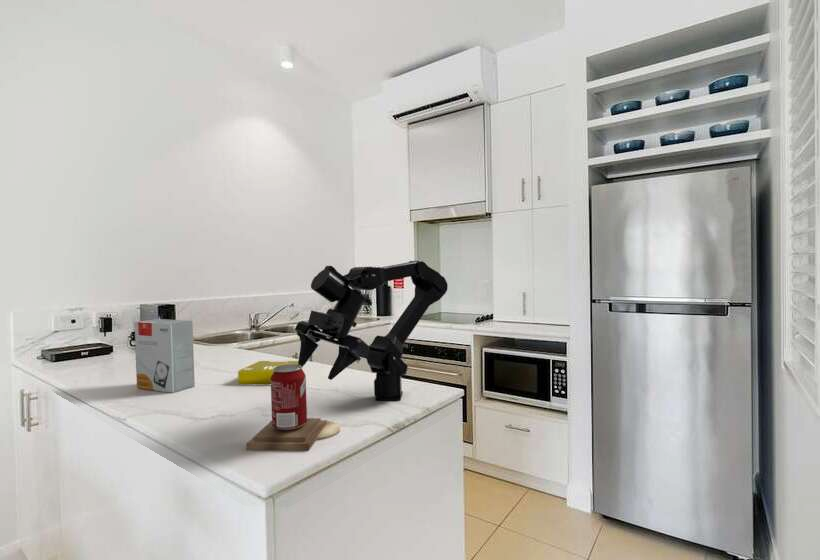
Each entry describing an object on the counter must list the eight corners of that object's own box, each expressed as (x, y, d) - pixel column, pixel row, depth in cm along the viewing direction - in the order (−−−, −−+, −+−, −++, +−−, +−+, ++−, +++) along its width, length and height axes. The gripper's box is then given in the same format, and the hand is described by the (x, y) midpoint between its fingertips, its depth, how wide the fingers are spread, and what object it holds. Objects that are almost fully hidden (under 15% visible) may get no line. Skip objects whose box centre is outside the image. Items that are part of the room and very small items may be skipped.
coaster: (344, 423, 90) (344, 420, 90) (333, 440, 81) (333, 437, 81) (304, 423, 91) (303, 420, 91) (289, 440, 82) (288, 437, 82)
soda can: (297, 434, 79) (296, 371, 79) (265, 432, 81) (263, 371, 80) (312, 421, 86) (310, 363, 86) (282, 419, 87) (280, 363, 87)
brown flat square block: (326, 425, 89) (326, 416, 89) (309, 450, 77) (308, 439, 77) (272, 425, 90) (272, 416, 90) (246, 449, 78) (246, 439, 78)
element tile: (302, 373, 137) (302, 359, 137) (283, 386, 122) (282, 370, 122) (259, 373, 139) (259, 359, 139) (235, 385, 124) (235, 370, 124)
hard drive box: (135, 389, 122) (132, 321, 122) (159, 382, 129) (157, 318, 129) (173, 393, 116) (170, 323, 116) (196, 386, 124) (193, 319, 123)
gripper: (298, 288, 97) (262, 348, 91) (361, 304, 87) (326, 372, 81) (322, 310, 105) (292, 366, 99) (382, 326, 96) (353, 390, 90)
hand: (313, 373), depth 92 cm, fingers open, 9 cm apart
